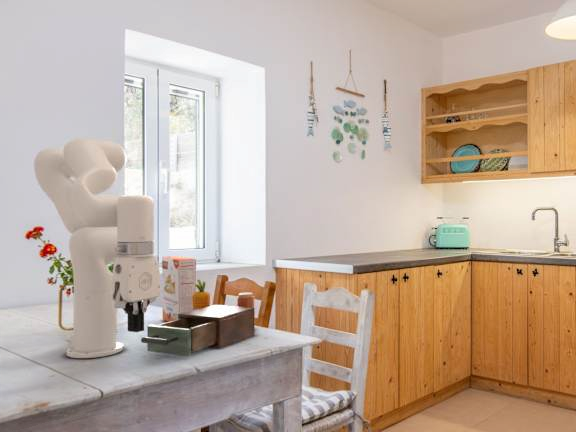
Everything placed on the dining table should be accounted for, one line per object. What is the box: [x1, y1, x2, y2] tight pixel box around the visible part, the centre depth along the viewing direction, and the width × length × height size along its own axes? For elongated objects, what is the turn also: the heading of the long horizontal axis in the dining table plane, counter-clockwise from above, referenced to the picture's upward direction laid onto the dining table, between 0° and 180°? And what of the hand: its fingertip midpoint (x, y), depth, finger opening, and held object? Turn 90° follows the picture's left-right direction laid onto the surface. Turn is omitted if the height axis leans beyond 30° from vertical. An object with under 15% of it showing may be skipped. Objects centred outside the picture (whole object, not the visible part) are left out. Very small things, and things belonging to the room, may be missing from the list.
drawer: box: [140, 317, 218, 357], centre depth 133 cm, size 19×12×6 cm, turn 160°
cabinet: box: [178, 304, 256, 350], centre depth 146 cm, size 16×14×8 cm
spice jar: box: [236, 291, 255, 308], centre depth 158 cm, size 5×5×11 cm
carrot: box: [193, 279, 211, 310], centre depth 159 cm, size 5×5×15 cm
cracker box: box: [161, 255, 197, 322], centre depth 168 cm, size 14×6×21 cm, turn 42°
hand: (135, 330), depth 119 cm, fingers closed
